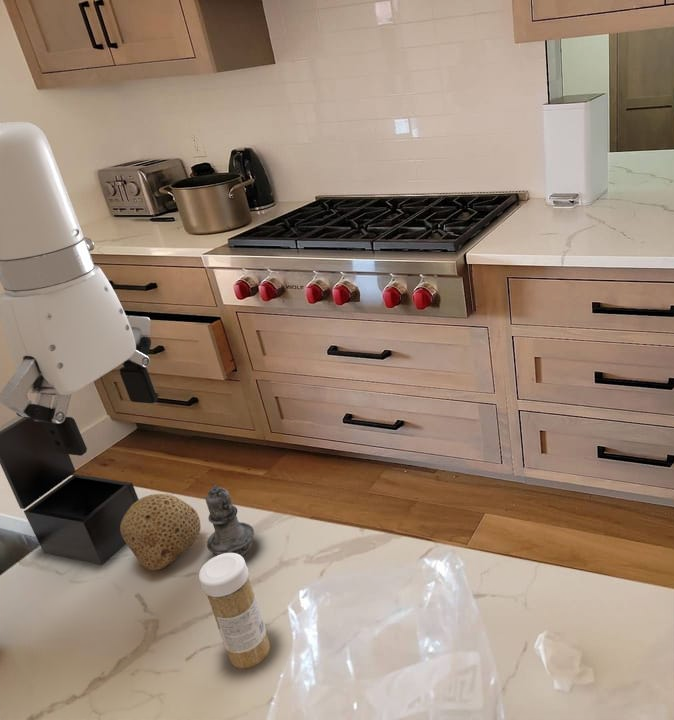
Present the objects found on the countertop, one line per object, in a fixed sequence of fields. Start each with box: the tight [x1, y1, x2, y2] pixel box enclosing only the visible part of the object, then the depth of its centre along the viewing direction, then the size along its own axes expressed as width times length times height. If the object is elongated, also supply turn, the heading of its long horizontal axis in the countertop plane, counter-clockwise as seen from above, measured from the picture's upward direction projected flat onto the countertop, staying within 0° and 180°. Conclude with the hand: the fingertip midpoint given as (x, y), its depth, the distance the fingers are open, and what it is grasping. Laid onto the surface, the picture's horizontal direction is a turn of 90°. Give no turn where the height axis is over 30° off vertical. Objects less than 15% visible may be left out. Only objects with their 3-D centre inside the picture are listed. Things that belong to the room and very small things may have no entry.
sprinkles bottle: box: [198, 553, 271, 669], centre depth 72 cm, size 5×5×14 cm
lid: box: [0, 415, 77, 510], centre depth 91 cm, size 11×8×5 cm
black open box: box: [23, 473, 140, 566], centre depth 93 cm, size 10×8×8 cm
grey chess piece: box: [205, 484, 255, 557], centre depth 87 cm, size 6×6×12 cm
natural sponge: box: [120, 493, 201, 571], centre depth 88 cm, size 9×9×10 cm
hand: (111, 425), depth 69 cm, fingers open, 9 cm apart
